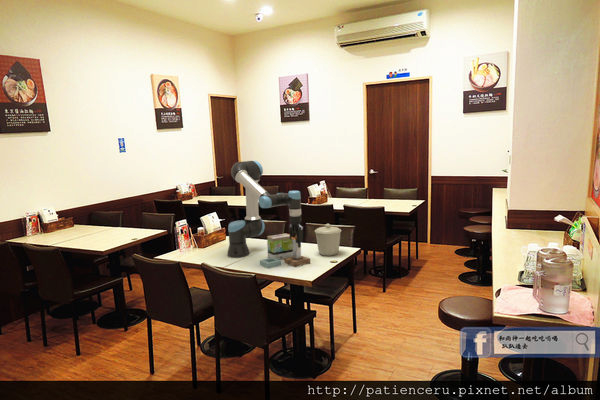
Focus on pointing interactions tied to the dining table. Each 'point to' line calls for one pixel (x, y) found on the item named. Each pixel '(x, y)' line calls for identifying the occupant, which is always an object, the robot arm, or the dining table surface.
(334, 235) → the canister
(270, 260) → the mount
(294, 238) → the lock pin
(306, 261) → the tray
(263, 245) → the dining table surface
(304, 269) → the dining table surface
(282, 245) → the tea box
